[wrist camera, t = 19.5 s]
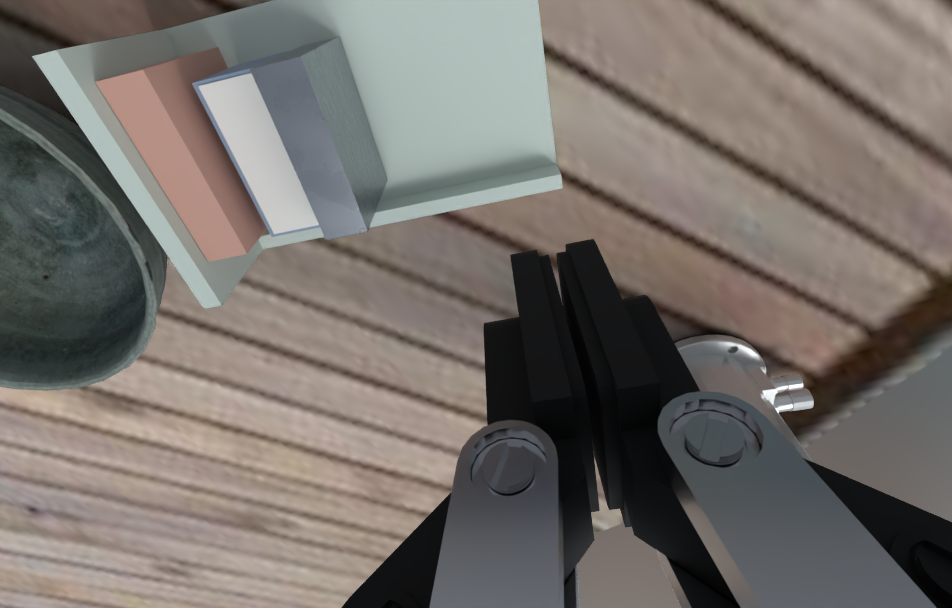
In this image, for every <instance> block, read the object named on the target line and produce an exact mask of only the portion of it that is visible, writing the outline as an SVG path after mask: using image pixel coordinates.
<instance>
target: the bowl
mask: <svg viewBox="0 0 952 608" xmlns="http://www.w3.org/2000/svg"><path fill="white" fill-rule="evenodd" d="M166 270H167V254H166V252H165V251H164V249H163V248H162V247H161V245H160V244H159V242H158V241H157V239H156V238H155V236H154V235H153V233H152V232H151V230H150V229H149V227H148V226H147V225H146V223H145V222H144V220H143V219H142V217H141V216H140V214H139V213H138V211H137V210H136V208H135V207H134V205H133V204H132V202H131V201H130V200H129V198H128V197H127V195H126V194H125V192H124V191H123V189H122V188H121V186H120V185H119V183H118V182H117V180H116V179H115V178H114V176H113V175H112V173H111V172H110V170H109V169H108V167H107V166H106V164H105V163H104V161H103V160H102V158H101V157H100V155H99V154H98V153H97V151H96V150H95V148H94V147H93V145H92V144H91V142H90V141H89V139H88V138H87V136H86V135H85V133H84V132H83V131H82V129H81V128H80V127H78V126H77V125H76V124H74V123H73V122H71V121H70V120H68V119H67V118H66V117H64V116H62V115H61V114H59V113H57V112H55V111H53V110H52V109H50V108H48V107H46V106H44V105H42V104H40V103H38V102H36V101H34V100H32V99H30V98H28V97H26V96H24V95H22V94H20V93H17V92H15V91H13V90H11V89H9V88H7V87H4V86H0V387H5V388H11V389H26V390H46V391H48V390H60V389H72V388H80V387H83V386H87V385H90V384H93V383H97V382H100V381H104V380H106V379H107V378H109V377H111V376H113V375H115V374H116V373H118V372H120V371H122V370H124V369H126V368H127V367H129V366H130V365H131V364H132V363H133V362H134V361H135V360H136V359H137V358H138V357H139V356H140V355H141V354H142V353H143V351H144V350H145V349H146V347H147V345H148V343H149V340H150V338H151V336H152V334H153V332H154V329H155V325H156V314H157V312H158V309H159V306H160V304H161V299H162V294H163V290H164V287H165V280H166Z"/></svg>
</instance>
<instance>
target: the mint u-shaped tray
mask: <svg viewBox="0 0 952 608" xmlns="http://www.w3.org/2000/svg"><path fill="white" fill-rule="evenodd" d="M336 37H340V38H341V41H342V44H343V47H344V50H345V53H346V56H347V59H348V62H349V65H350V68H351V71H352V74H353V77H354V80H355V83H356V86H357V89H358V92H359V95H360V98H361V101H362V104H363V107H364V110H365V113H366V116H367V119H368V122H369V125H370V128H371V131H372V134H373V137H374V140H375V143H376V146H377V149H378V152H379V155H380V158H381V161H382V164H383V167H384V170H385V173H386V176H387V179H388V181H387V183H386V186H385V188H384V191H383V194H382V196H381V199H380V201H379V204H378V206H377V209H376V212H375V214H374V217H373V219H372V222H371V224H370V227H375V226H380V225H385V224H390V223H395V222H400V221H405V220H409V219H414V218H419V217H424V216H429V215H434V214H439V213H444V212H449V211H454V210H459V209H464V208H468V207H473V206H478V205H483V204H488V203H493V202H498V201H503V200H508V199H513V198H518V197H523V196H527V195H532V194H537V193H542V192H547V191H552V190H557V189H562V188H563V187H562V178H561V173H560V171H559V168H558V166H557V164H556V155H555V146H554V137H553V129H552V120H551V111H550V102H549V93H548V85H547V76H546V67H545V58H544V49H543V40H542V32H541V23H540V14H539V5H538V0H272V1H268V2H265V3H261V4H257V5H253V6H250V7H246V8H242V9H238V10H235V11H231V12H227V13H223V14H220V15H216V16H212V17H208V18H205V19H201V20H197V21H193V22H190V23H186V24H182V25H178V26H175V27H171V28H167V29H163V30H157V31H152V32H147V33H142V34H136V35H131V36H126V37H121V38H116V39H110V40H105V41H100V42H95V43H90V44H84V45H79V46H74V47H69V48H64V49H58V50H54V51H50V52H47V53H43V54H39V55H35V56H32V57H33V59H34V60H35V61H36V63H37V64H38V66H39V67H40V69H41V70H42V72H43V73H44V75H45V76H46V78H47V79H48V81H49V82H50V84H51V85H52V86H53V88H54V89H55V91H56V92H57V94H58V95H59V97H60V98H61V100H62V101H63V103H64V104H65V106H66V107H67V108H68V110H69V111H70V113H71V114H72V116H73V117H74V119H75V120H76V122H77V123H78V125H79V126H80V128H81V129H82V131H83V132H84V133H85V135H86V136H87V138H88V139H89V141H90V142H91V144H92V145H93V147H94V148H95V150H96V151H97V153H98V154H99V155H100V157H101V158H102V160H103V161H104V163H105V164H106V166H107V167H108V169H109V170H110V172H111V173H112V175H113V176H114V178H115V179H116V180H117V182H118V183H119V185H120V186H121V188H122V189H123V191H124V192H125V194H126V195H127V197H128V198H129V200H130V201H131V202H132V204H133V205H134V207H135V208H136V210H137V211H138V213H139V214H140V216H141V217H142V219H143V220H144V222H145V223H146V225H147V226H148V227H149V229H150V230H151V232H152V233H153V235H154V236H155V238H156V239H157V241H158V242H159V244H160V245H161V247H162V248H163V249H164V251H165V252H166V254H167V255H168V257H169V258H170V260H171V261H172V263H173V264H174V266H175V267H176V269H177V270H178V272H179V273H180V274H181V276H182V277H183V279H184V280H185V282H186V283H187V285H188V286H189V288H190V289H191V291H192V292H193V294H194V295H195V296H196V298H197V299H198V301H199V302H200V304H201V305H202V307H203V308H204V309H205V308H210V307H215V306H221V305H222V304H223V303H224V302H225V300H226V299H227V298H228V296H229V295H230V294H231V292H232V291H233V290H234V288H235V287H236V286H237V284H238V283H239V281H240V280H241V279H242V277H243V276H244V275H245V273H246V272H247V271H248V269H249V268H250V267H251V265H252V264H253V262H254V261H255V260H256V258H257V257H258V256H259V254H260V253H261V252H262V250H263V249H267V248H272V247H277V246H282V245H287V244H291V243H296V242H301V241H306V240H311V239H316V238H321V237H324V235H323V232H322V230H321V228H320V227H319V228H314V229H309V230H305V231H300V232H295V233H290V234H285V235H280V236H275V237H271V235H270V233H269V231H268V229H267V227H266V225H265V223H264V221H263V220H262V218H261V216H260V214H259V212H258V210H257V208H256V206H255V204H254V202H253V200H252V198H251V196H250V195H249V193H248V191H247V189H246V187H245V185H244V183H243V181H242V179H241V177H240V175H239V173H238V171H237V169H236V168H235V166H234V164H233V162H232V160H231V158H230V156H229V154H228V152H227V150H226V148H225V146H224V144H223V143H222V141H221V139H220V137H219V135H218V133H217V131H216V129H215V127H214V125H213V123H212V121H211V119H210V118H209V116H208V114H207V112H206V110H205V108H204V106H203V104H202V102H201V100H200V98H199V96H198V94H197V92H196V91H195V89H194V87H193V85H192V83H193V82H195V81H198V80H200V79H203V78H205V77H208V76H210V75H213V74H215V73H218V72H220V71H223V70H225V69H227V68H230V67H232V66H235V65H237V64H241V63H245V62H249V61H252V60H256V59H260V58H264V57H268V56H272V55H276V54H280V53H284V52H288V51H291V50H294V49H296V48H298V47H300V46H304V45H308V44H312V43H316V42H320V41H324V40H328V39H332V38H336ZM370 227H369V228H370Z"/></svg>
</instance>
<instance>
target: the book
mask: <svg viewBox="0 0 952 608" xmlns="http://www.w3.org/2000/svg"><path fill="white" fill-rule="evenodd" d="M288 52H289V51H288ZM285 53H287V52H284V53H280V54H276V55H272V56H268V57H264V58H260V59H256V60H252V61H249V62H245V63H241V64H237V65H235V66H232V67H230V68H227V69H225V70H223V71H220V72H218V73H215V74H213V75H210V76H208V77H205V78H203V79H200V80H198V81H195V82H193V83H192V85H193V87H194V89H195V91H196V92H197V94H198V96H199V98H200V100H201V102H202V104H203V106H204V108H205V110H206V112H207V114H208V116H209V118H210V119H211V121H212V123H213V125H214V127H215V129H216V131H217V133H218V135H219V137H220V139H221V141H222V143H223V144H224V146H225V148H226V150H227V152H228V154H229V156H230V158H231V160H232V162H233V164H234V166H235V168H236V169H237V171H238V173H239V175H240V177H241V179H242V181H243V183H244V185H245V187H246V189H247V191H248V193H249V195H250V196H251V198H252V200H253V202H254V204H255V206H256V208H257V210H258V212H259V214H260V216H261V218H262V220H263V221H264V223H265V225H266V227H267V229H268V231H269V233H270V235H271V237H275V236H280V235H285V234H290V233H295V232H300V231H305V230H309V229H314V228H319V227H320V226H319V223H318V221H317V219H316V217H315V214H314V212H313V210H312V208H311V205H310V203H309V201H308V199H307V196H306V194H305V192H304V190H303V187H302V185H301V183H300V181H299V179H298V176H297V174H296V172H295V170H294V167H293V165H292V163H291V161H290V158H289V156H288V154H287V152H286V149H285V147H284V145H283V143H282V140H281V138H280V136H279V134H278V131H277V129H276V127H275V125H274V122H273V120H272V118H271V116H270V114H269V111H268V109H267V107H266V105H265V102H264V100H263V98H262V96H261V93H260V91H259V89H258V87H257V84H256V82H255V80H254V78H253V75H252V73H251V71H250V69H251V68H254V67H256V66H258V65H260V64H263V63H265V62H267V61H269V60H271V59H274V58H276V57H278V56H280V55H283V54H285Z"/></svg>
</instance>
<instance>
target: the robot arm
mask: <svg viewBox="0 0 952 608" xmlns="http://www.w3.org/2000/svg"><path fill="white" fill-rule="evenodd" d="M510 256H511V263H512V270H513V277H514V284H515V291H516V298H517V305H518V312H519V317H517V318H511V319H505V320H499V321H494V322H488V323H484V348H485V373H486V397H487V422H488V426H485V427H483V428H481V429H480V430H479V431H477V432H476V433H475V434H474V435H472V436H471V437H470V438H469V440H468V441H467V442H466V444H465V445H464V446H463V447H462V450H461V452H460V455H459V458H458V461H457V466H456V471H455V476H454V481H453V487H452V492H451V493H450V494H449V495H448V496H447V497H446V498H445V499H444V500H443V501H442V502H441V503H440V504H439V506H438V507H437V508H436V509H435V510H434V511H433V512H432V513H431V514H430V515H429V516H428V517H427V518H426V519H425V520H424V521H423V522H422V523H421V524H420V525H419V526H418V527H417V528H416V529H415V530H414V531H413V532H412V533H411V535H410V536H409V537H408V538H407V539H406V540H405V541H404V542H403V543H402V544H401V545H400V546H399V547H398V548H397V549H396V550H395V551H394V552H393V553H392V554H391V555H390V556H389V557H388V558H387V559H386V560H385V561H384V562H383V563H382V565H381V566H380V567H379V568H378V569H377V570H376V571H375V572H374V573H373V574H372V575H371V576H370V577H369V578H368V579H367V580H366V581H365V582H364V583H363V584H362V585H361V586H360V587H359V588H358V589H357V590H356V591H355V592H354V594H353V595H352V596H351V597H350V598H349V599H348V600H347V601H346V603H345V604H344V605H343V607H342V608H579V591H578V569H577V563H578V562H579V561H580V559H581V558H582V556H583V555H584V554H585V552H586V550H587V549H588V548H589V547H590V545H591V544H592V542H593V541H594V534H593V526H592V518H591V512H595V511H599V501H598V492H597V483H596V473H595V464H594V455H595V459H596V463H597V467H598V471H599V475H600V478H601V482H602V486H603V490H604V494H605V498H606V502H607V505H608V508H609V510H611V509H619V508H620V510H621V513H622V517H623V521H624V524H625V527H632V528H633V532H634V535H635V536H637V537H638V538H640V539H641V540H643V541H644V542H646V543H647V544H649V545H650V546H652V547H653V548H655V549H656V552H657V555H658V559H659V562H660V564H661V566H662V568H663V570H664V572H665V574H666V576H667V579H668V581H669V582H670V585H671V587H672V589H673V591H674V593H675V595H676V597H677V599H678V601H679V604H680V606H681V608H952V522H950V521H948V520H945V519H943V518H941V517H938V516H936V515H934V514H931V513H929V512H927V511H924V510H922V509H920V508H917V507H915V506H913V505H911V504H908V503H906V502H904V501H901V500H899V499H897V498H894V497H892V496H890V495H887V494H885V493H883V492H881V491H878V490H876V489H874V488H871V487H869V486H867V485H864V484H862V483H860V482H857V481H855V480H853V479H850V478H848V477H846V476H843V475H841V474H839V473H836V472H834V471H832V470H830V469H827V468H825V467H823V466H820V465H818V464H816V463H813V462H812V460H811V459H810V458H809V456H808V455H807V453H806V452H805V450H804V449H803V447H802V446H801V445H800V443H799V442H798V440H797V439H796V437H795V436H794V435H793V433H792V432H791V430H790V429H789V427H788V426H787V425H786V423H785V422H784V420H783V419H782V417H781V416H780V415H779V412H782V411H796V410H803V409H810V408H812V407H813V405H814V404H813V398H812V395H811V393H810V392H809V390H807V389H806V388H802V387H803V381H802V378H801V377H800V375H798V374H792V375H786V376H781V377H777V378H772V377H771V376H767V371H766V366H765V363H764V360H763V359H762V358H761V356H760V355H759V353H758V352H757V351H756V350H755V349H754V348H753V347H752V346H751V345H750V344H748V343H747V342H745V341H743V340H741V339H738V338H735V337H732V336H726V335H702V336H696V337H691V338H688V339H684V340H681V341H678V342H676V343H674V342H673V340H672V338H671V336H670V334H669V333H668V331H667V329H666V327H665V325H664V324H663V322H662V320H661V318H660V316H659V315H658V313H657V311H656V309H655V307H654V305H653V304H652V302H651V300H650V299H649V297H648V296H646V295H642V296H637V297H631V298H625V299H622V298H621V296H620V294H619V292H618V290H617V288H616V286H615V283H614V281H613V279H612V277H611V275H610V273H609V270H608V268H607V266H606V264H605V262H604V260H603V258H602V255H601V253H600V251H599V249H598V247H597V245H596V243H595V241H594V239H591V240H586V241H580V242H575V243H570V244H566V252H561V253H557V264H558V272H559V280H560V287H561V295H562V302H561V298H560V294H559V291H558V287H557V284H556V280H555V277H554V273H553V269H552V266H551V262H550V259H549V255H545V256H539V257H538V253H537V250H533V251H528V252H523V253H517V254H512V255H510ZM562 303H563V305H562ZM784 390H785V391H784ZM777 391H783V392H780V393H777ZM593 451H594V454H593Z"/></svg>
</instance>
